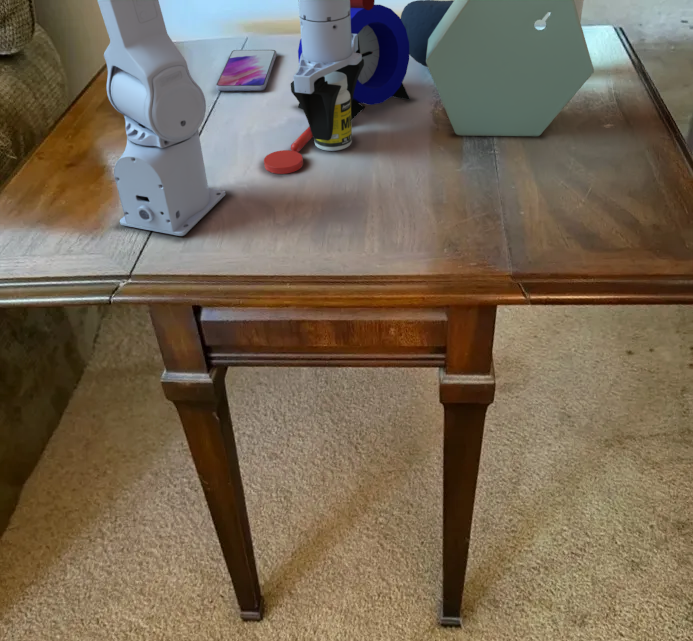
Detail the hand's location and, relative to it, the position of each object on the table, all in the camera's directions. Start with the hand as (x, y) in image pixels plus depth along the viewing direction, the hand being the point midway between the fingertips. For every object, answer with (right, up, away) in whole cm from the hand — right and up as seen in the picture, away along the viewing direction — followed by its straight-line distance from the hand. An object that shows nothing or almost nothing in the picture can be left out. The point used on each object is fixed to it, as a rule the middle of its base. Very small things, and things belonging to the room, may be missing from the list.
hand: (331, 128), depth 94 cm
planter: (+22, +1, +4) cm, 22 cm away
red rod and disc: (-4, -2, 0) cm, 5 cm away
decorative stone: (+16, +14, +20) cm, 29 cm away
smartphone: (-13, +14, +21) cm, 28 cm away
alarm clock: (+2, +6, +11) cm, 13 cm away
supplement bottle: (0, -2, +1) cm, 2 cm away
